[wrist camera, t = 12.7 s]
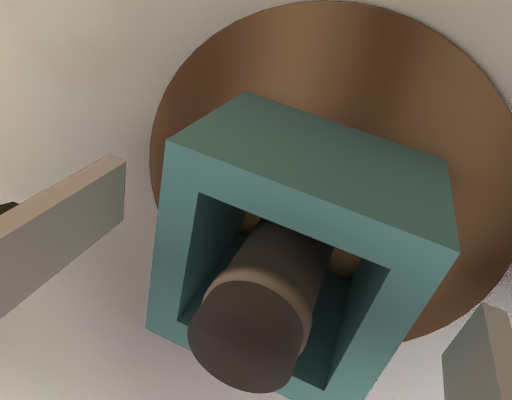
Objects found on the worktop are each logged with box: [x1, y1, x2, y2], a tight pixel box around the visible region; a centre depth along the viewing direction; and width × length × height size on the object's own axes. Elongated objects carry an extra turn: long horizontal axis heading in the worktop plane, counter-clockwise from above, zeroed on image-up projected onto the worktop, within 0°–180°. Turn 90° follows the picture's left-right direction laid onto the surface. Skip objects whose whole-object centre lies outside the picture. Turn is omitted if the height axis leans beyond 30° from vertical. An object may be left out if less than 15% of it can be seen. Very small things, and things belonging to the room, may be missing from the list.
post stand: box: [149, 1, 512, 393], centre depth 14 cm, size 16×16×9 cm
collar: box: [146, 91, 460, 400], centre depth 15 cm, size 8×8×6 cm
